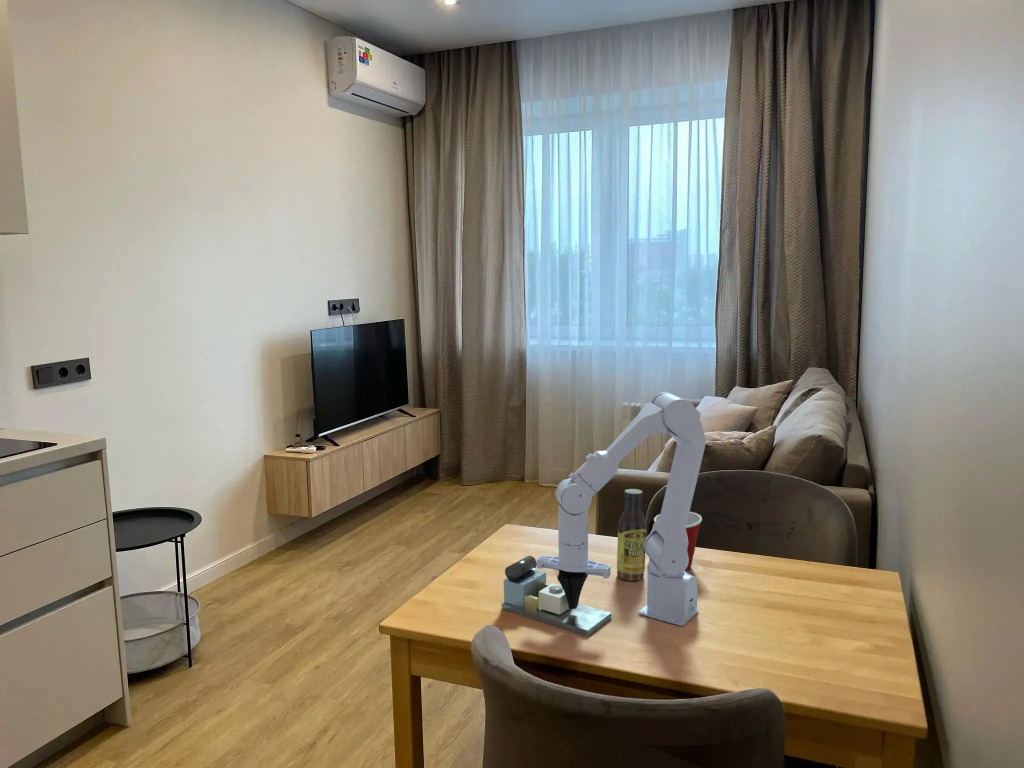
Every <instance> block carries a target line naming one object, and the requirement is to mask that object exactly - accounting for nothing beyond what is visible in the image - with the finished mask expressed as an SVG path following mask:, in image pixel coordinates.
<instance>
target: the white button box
mask: <svg viewBox="0 0 1024 768" xmlns="http://www.w3.org/2000/svg"><path fill="white" fill-rule="evenodd" d="M550 584H551V585H549V586H547V587H546V588H544V589H542V590H541V591H539V608H540V609H543V610H546V611H549V612H553V613H556V614H559V615H560V614H562V613H563V612H565V611H566V610H568V609H569V606H568V602H567V598H566V595H565V592H564V590H563V588H562V586H561V584H556V583H550Z"/></svg>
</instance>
